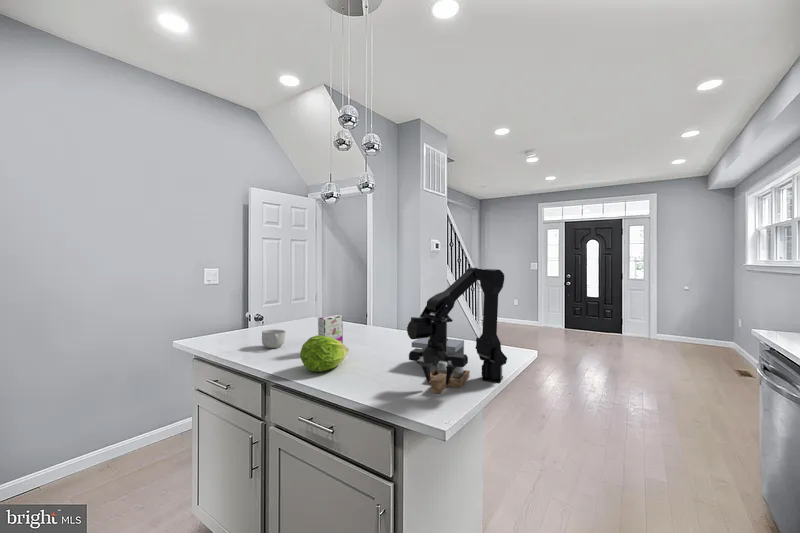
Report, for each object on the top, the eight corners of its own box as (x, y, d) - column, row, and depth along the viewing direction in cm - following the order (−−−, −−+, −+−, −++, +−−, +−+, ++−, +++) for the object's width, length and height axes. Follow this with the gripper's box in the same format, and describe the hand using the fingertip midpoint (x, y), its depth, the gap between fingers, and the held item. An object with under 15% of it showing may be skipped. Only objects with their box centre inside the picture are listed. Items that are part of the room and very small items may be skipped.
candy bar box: (335, 348, 173) (335, 314, 173) (343, 350, 170) (343, 315, 170) (317, 353, 164) (317, 317, 164) (324, 355, 161) (324, 318, 161)
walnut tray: (469, 377, 132) (469, 362, 132) (453, 396, 114) (453, 378, 114) (438, 373, 137) (438, 358, 137) (418, 389, 119) (418, 373, 119)
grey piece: (463, 364, 148) (464, 340, 148) (455, 373, 137) (455, 347, 136) (423, 359, 156) (423, 336, 155) (411, 367, 144) (411, 342, 144)
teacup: (262, 345, 179) (262, 329, 179) (285, 343, 182) (285, 328, 182) (260, 352, 166) (260, 334, 166) (285, 350, 169) (285, 333, 169)
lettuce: (362, 365, 150) (359, 331, 153) (323, 373, 129) (320, 334, 132) (334, 367, 157) (332, 335, 160) (292, 375, 136) (291, 338, 139)
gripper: (401, 338, 115) (401, 386, 115) (458, 344, 107) (458, 396, 107) (415, 331, 125) (415, 376, 125) (468, 337, 117) (468, 384, 117)
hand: (437, 383), depth 118 cm, fingers open, 6 cm apart
